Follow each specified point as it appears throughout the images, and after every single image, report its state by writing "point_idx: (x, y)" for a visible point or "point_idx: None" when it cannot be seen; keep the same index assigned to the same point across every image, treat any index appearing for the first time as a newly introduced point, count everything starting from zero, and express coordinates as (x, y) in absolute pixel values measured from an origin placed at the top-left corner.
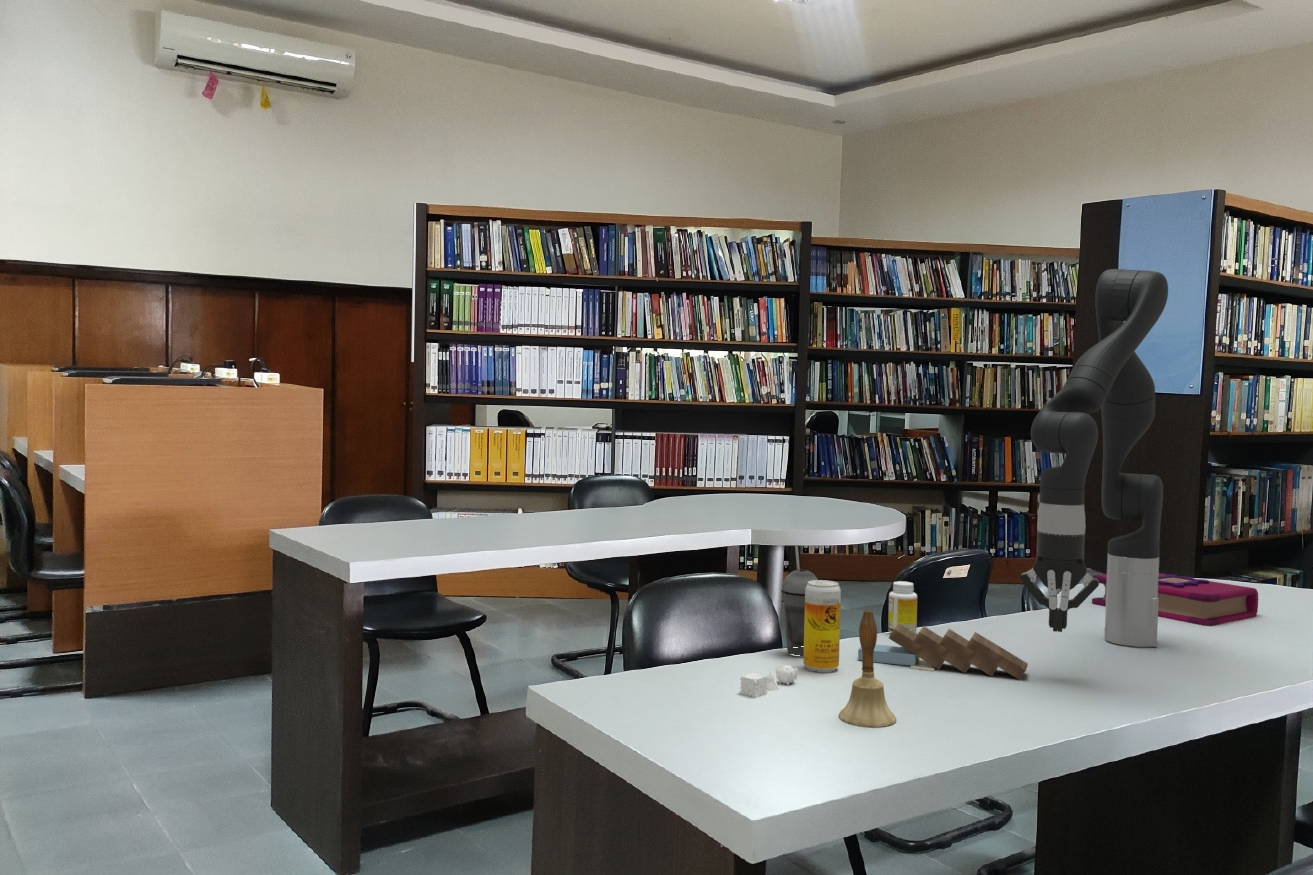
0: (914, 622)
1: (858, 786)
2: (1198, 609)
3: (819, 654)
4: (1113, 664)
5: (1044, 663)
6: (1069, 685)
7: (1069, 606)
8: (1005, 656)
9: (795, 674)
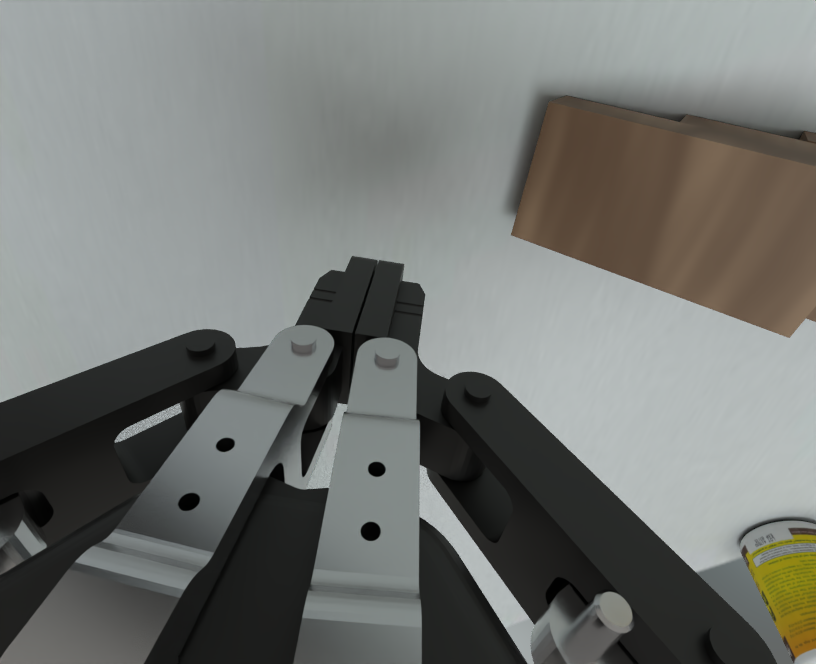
0: (775, 563)
1: None
2: None
3: None
4: None
5: (427, 357)
6: (360, 79)
7: (259, 358)
8: (651, 160)
9: None
